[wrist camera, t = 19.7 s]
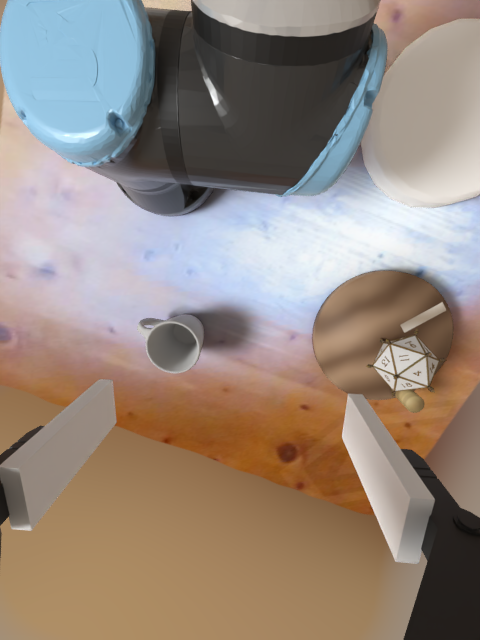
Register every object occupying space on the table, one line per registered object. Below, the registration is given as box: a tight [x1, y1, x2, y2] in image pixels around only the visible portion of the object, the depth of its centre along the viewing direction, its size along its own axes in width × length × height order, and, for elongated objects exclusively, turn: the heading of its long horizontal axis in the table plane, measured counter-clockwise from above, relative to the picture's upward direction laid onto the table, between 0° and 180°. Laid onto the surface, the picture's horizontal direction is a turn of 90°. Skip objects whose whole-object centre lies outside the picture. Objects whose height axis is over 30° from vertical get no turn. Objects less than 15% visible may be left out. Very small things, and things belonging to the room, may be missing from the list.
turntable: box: [312, 271, 453, 413], centre depth 42 cm, size 20×20×7 cm
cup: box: [137, 314, 204, 373], centre depth 43 cm, size 8×10×8 cm
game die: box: [365, 329, 446, 397], centre depth 39 cm, size 9×8×10 cm
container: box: [361, 19, 480, 208], centre depth 37 cm, size 20×20×5 cm
